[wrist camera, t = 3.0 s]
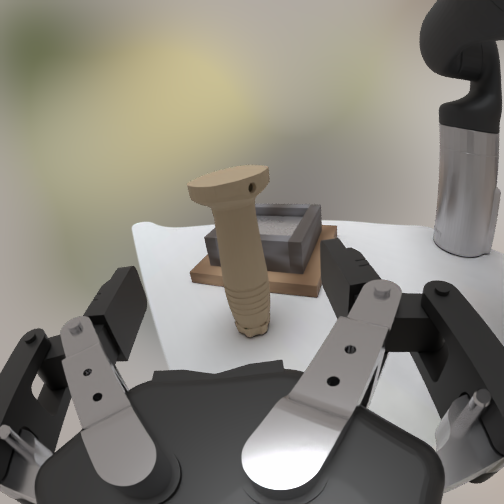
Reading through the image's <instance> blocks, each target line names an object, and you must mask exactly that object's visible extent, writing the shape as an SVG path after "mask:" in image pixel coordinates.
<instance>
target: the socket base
mask: <svg viewBox="0 0 504 504" xmlns="http://www.w3.org/2000/svg"><path fill="white" fill-rule="evenodd" d="M255 210H256V216H295V217H303V218H302V219H301V221H300V223H299V224H298V226H297V227H296V229H295V231H294V232H293V234H292V236H287V235H266V234H260V238H261V243H262V248H263V253H264V258H265V262H266V267H267V272H268V279H269V289H270V292H273V293H281V294H290V295H300V296H309V297H317V296H318V293H319V290H320V287H321V284H322V281H321V267H320V242H321V240H327V239H335V238H336V237H337V226H331V225H322V222H321V205H310V204H255ZM204 239H205V243H206V248H207V252H208V254H207V255H206V256H205V257H204V258H203V259H202V260H201V261H200V262H199V263H198V264H197V265H196V266H195V267H194V268H193V269H192V270H191V271H190V276H191V279H192V282H195V283H202V284H209V285H217V286H224V283H223V278H222V270H221V263H220V256H219V248H218V241H217V235H216V228H214V229H213V230H212V231H211V232H210V233H209V234H207V235H206V236H205V237H204Z"/></svg>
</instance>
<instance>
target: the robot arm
mask: <svg viewBox="0 0 504 504" xmlns="http://www.w3.org/2000/svg"><path fill="white" fill-rule="evenodd" d="M498 40H504V0H437V2H436V3H435V4H434V6H433V7H432V8H431V10H430V11H429V12H428V14H427V15H426V17H425V19H424V21H423V23H422V27H421V31H420V50H421V54H422V57H423V59H424V61H425V63H426V65H427V66H428V67H429V68H430V69H431V70H432V71H433V72H435V73H437V74H439V75H441V76H445V77H450V78H456V79H463V80H469V81H470V91H469V93H468V94H467V95H466V96H465V97H463V98H461V99H459V100H456V101H452V102H448V103H444V104H442V105H441V106H440V108H439V123H440V124H439V126H440V165H439V185H438V199H437V210H436V220H435V226H434V236H433V238H434V241H435V243H436V244H437V245H438V246H439V247H441V248H442V249H444V250H446V251H448V252H450V253H453V254H456V255H460V256H466V257H475V256H480V255H482V254H484V253H490V251H491V247H492V242H493V237H494V232H495V227H496V221H497V216H498V209H499V202H500V194H501V192H500V190H499V189H498V188H497V187H496V185H497V175H498V159H499V125H500V118H501V112H502V92H501V74H500V73H501V72H500V60H499V53H498V48H497V44H496V41H498ZM320 267H321V281H322V285H323V288H324V290H325V292H326V295H327V297H328V299H329V301H330V303H331V306H332V308H333V310H334V312H335V315H336V317H337V319H338V320H337V321H336V323H335V325H334V326H333V328H332V330H331V331H330V333H329V335H328V336H327V338H326V339H325V341H324V343H323V344H322V346H321V347H320V349H319V351H318V352H317V354H316V355H315V357H314V358H313V360H312V361H311V363H310V364H309V366H308V368H307V369H306V371H305V372H302V371H297V370H291V369H284V367H283V361H282V360H276V361H269V362H261V363H253V364H248V365H245V366H241V367H238V368H235V369H231V370H228V371H224V372H221V373H217V374H211V373H203V372H196V371H189V370H167V371H154V374H153V378H152V380H151V381H148V382H145V383H142V384H140V385H137V386H135V387H134V388H132V389H130V390H129V389H128V388H127V386H126V384H125V382H124V380H123V378H122V377H121V375H120V373H119V371H118V369H117V368H116V366H115V364H116V361H128V358H129V355H130V353H131V350H132V347H133V344H134V341H135V339H136V335H137V333H138V330H139V327H140V325H141V322H142V320H143V317H144V314H145V312H146V309H147V299H146V295H145V292H144V289H143V286H142V284H141V281H140V278H139V275H138V272H137V270H136V268H135V267H134V266H129V267H122V268H118V269H117V270H116V271H115V273H114V274H113V276H112V278H111V279H110V280H109V281H108V282H106V283H105V284H104V285H103V286H102V287H101V288H100V290H99V291H98V293H97V295H96V296H95V297H94V299H93V301H92V302H91V304H90V305H89V307H88V309H87V310H86V312H85V314H84V315H83V316H79V317H76V318H73V319H71V320H70V321H68V322H67V323H66V324H65V325H64V326H63V327H62V329H61V331H60V335H58V336H54V337H50V338H48V337H47V335H46V334H45V332H44V330H43V329H34V330H31V331H29V332H27V333H26V334H25V335H24V336H23V337H22V338H21V339H20V341H19V343H18V344H17V346H16V348H15V349H14V351H13V352H12V354H11V356H10V358H9V360H8V361H7V363H6V365H5V366H4V368H3V370H2V372H1V373H0V491H1V492H2V493H4V494H6V495H7V496H9V497H10V498H13V499H15V500H17V501H18V502H20V503H22V504H441V500H442V496H443V493H446V492H448V491H450V490H452V489H455V488H457V487H459V486H461V485H463V484H465V483H467V482H471V483H482V482H484V481H486V480H487V479H489V478H490V477H491V476H493V475H494V474H495V473H497V472H498V471H499V470H500V469H501V468H503V467H504V347H503V345H502V344H501V342H500V341H499V340H498V338H497V337H496V336H495V334H494V333H493V332H492V331H491V329H490V328H489V327H488V325H487V324H486V323H485V322H484V320H483V319H482V318H481V317H480V315H479V314H478V313H477V312H476V310H475V309H474V308H473V307H472V306H471V304H470V303H469V302H468V301H467V300H466V299H465V297H464V296H463V295H462V294H461V293H460V292H459V290H458V289H457V288H456V287H455V286H453V285H452V284H450V283H448V282H445V281H431V282H428V283H427V284H426V285H425V286H424V289H423V294H408V293H402V290H401V288H400V287H399V286H398V285H397V284H395V283H394V282H391V281H388V280H382V279H381V278H380V277H379V275H378V274H377V273H376V272H375V270H374V269H373V268H372V266H371V265H369V263H368V261H367V260H365V258H364V256H363V255H362V254H361V253H360V252H359V251H357V250H355V249H353V248H345V246H344V245H343V244H342V242H341V241H340V240H339V238H335V239H327V240H321V242H320ZM389 352H410V354H411V356H412V358H413V360H414V362H415V364H416V366H417V368H418V370H419V372H420V374H421V376H422V378H423V380H424V382H425V384H426V387H427V389H428V391H429V393H430V395H431V397H432V400H433V402H434V404H435V406H436V409H437V411H438V413H439V416H440V418H441V421H440V423H439V424H438V426H437V428H436V432H435V439H436V444H437V448H436V452H435V450H434V449H433V448H432V447H431V446H430V445H428V444H427V443H426V442H424V441H422V440H421V439H419V438H417V437H415V436H413V435H412V434H410V433H408V432H406V431H405V430H403V429H401V428H399V427H398V426H396V425H394V424H392V423H391V422H389V421H387V420H385V419H384V418H382V417H380V416H379V415H377V414H375V413H374V412H372V411H370V410H369V409H368V408H369V405H370V402H371V400H372V397H373V394H374V391H375V389H376V386H377V384H378V381H379V379H380V376H381V374H382V371H383V369H384V366H385V363H386V360H387V358H388V355H389ZM36 374H38V375H39V377H40V378H41V379H42V381H43V382H44V385H43V388H42V390H41V392H40V394H39V397H38V399H36V398H35V397H34V396H33V394H32V390H31V386H32V382H33V380H34V378H35V376H36ZM71 397H72V400H73V402H74V406H75V408H76V412H77V415H78V417H79V420H80V423H81V426H82V430H81V431H80V432H79V433H78V434H77V435H75V436H74V437H73V438H72V439H71V440H70V441H68V442H67V443H66V444H65V445H64V446H62V447H61V448H60V449H59V450H58V451H56V452H55V453H54V451H55V448H56V444H57V441H58V438H59V434H60V431H61V428H62V425H63V421H64V418H65V415H66V412H67V409H68V406H69V403H70V400H71Z"/></svg>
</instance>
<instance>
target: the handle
mask: <svg viewBox="0 0 504 504" xmlns="http://www.w3.org/2000/svg"><path fill="white" fill-rule="evenodd" d="M268 183H269V170H268V167H267V166H263V165H242V166H235V167H231V168H226V169H222V170H218V171H214V172H211V173H208V174H205V175H202V176H200V177H198V178H195V179H194V180H192V181H190V182H188V183H187V185H188V190H189V195H190V198H191V200H192V201H194V202H196V203H198V204H200V205H204V206H208V207H210V208H211V209H212V213H213V216H214V221H215V228H216V235H217V241H218V248H219V256H220V263H221V270H222V278H223V283H224V288H225V293H226V297H227V300H228V303H229V306H230V309H231V312H232V314H233V317H234V319H235V320H236V321H235V324H236V327H237V329H238V331H239V332H240V333H244V334H246V336H247V337H252V336H255V335H258V334H264V333H265V332H266V331H267V329H268V324H269V322H270V313H269V312H270V289H269V279H268V272H267V267H266V262H265V258H264V253H263V248H262V243H261V238H260V232H259V227H258V222H257V216H256V210H255V198H256V196H257V195H258V194H259V193H261V192H262V191H263V190H264V188H265V187H266V186H267V185H268Z"/></svg>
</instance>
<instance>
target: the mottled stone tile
mask: <svg viewBox="0 0 504 504" xmlns="http://www.w3.org/2000/svg"><path fill="white" fill-rule="evenodd" d="M302 218H303V217H295V216H257V222H258V227H259V232H260V234H266V235H287V236H292V234H293V232H294V231H295V229H296V227H297V226H298V224H299V223H300V221H301V219H302Z"/></svg>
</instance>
